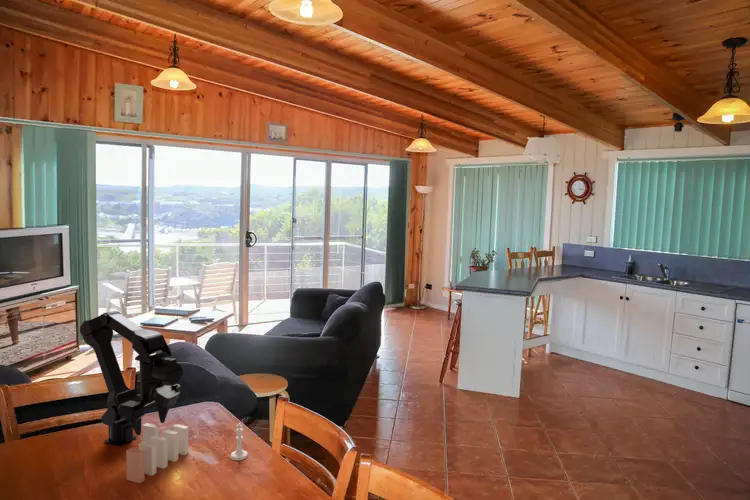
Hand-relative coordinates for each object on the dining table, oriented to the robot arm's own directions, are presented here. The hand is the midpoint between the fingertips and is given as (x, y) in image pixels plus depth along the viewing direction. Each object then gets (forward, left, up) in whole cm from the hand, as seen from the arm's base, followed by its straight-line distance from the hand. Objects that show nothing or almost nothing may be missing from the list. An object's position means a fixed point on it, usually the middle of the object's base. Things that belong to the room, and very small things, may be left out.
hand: (150, 428), depth 153 cm
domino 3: (+8, -10, -7) cm, 14 cm away
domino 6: (+8, +3, -7) cm, 11 cm away
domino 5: (+8, -1, -7) cm, 11 cm away
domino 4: (+8, -5, -7) cm, 12 cm away
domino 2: (0, 0, -7) cm, 7 cm away
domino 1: (+8, -14, -7) cm, 17 cm away
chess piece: (+25, +8, -7) cm, 27 cm away
